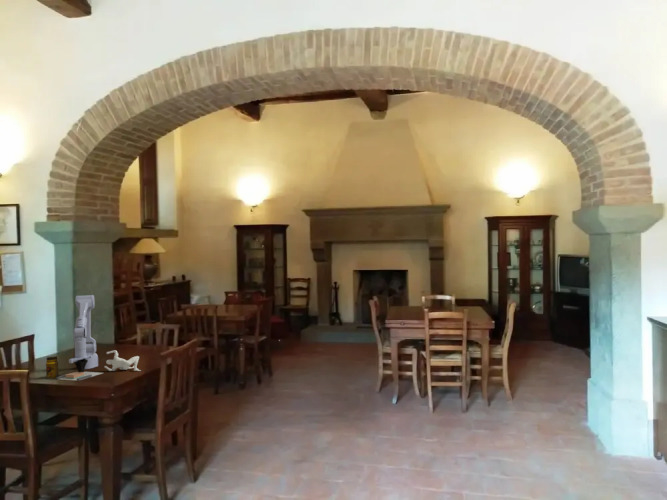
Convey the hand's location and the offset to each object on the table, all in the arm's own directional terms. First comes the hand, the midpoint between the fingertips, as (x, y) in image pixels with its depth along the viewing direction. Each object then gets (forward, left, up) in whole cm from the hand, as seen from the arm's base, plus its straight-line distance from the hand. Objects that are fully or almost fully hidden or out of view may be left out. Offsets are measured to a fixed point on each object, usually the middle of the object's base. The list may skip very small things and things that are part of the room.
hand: (81, 373), depth 294 cm
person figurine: (-15, +15, -2) cm, 22 cm away
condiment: (+7, -13, -2) cm, 15 cm away
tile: (+1, 0, 0) cm, 1 cm away
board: (+2, +1, -2) cm, 3 cm away
